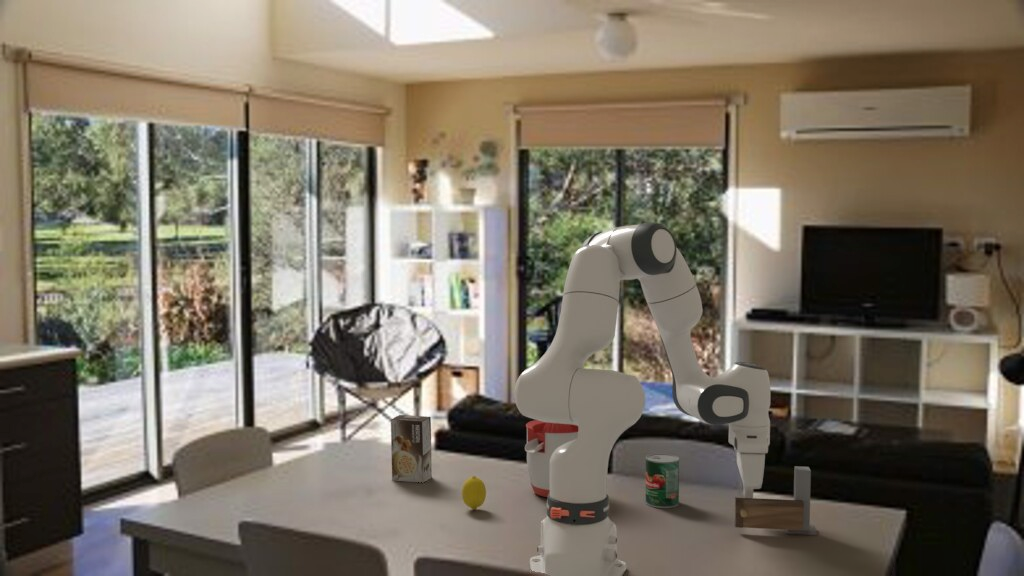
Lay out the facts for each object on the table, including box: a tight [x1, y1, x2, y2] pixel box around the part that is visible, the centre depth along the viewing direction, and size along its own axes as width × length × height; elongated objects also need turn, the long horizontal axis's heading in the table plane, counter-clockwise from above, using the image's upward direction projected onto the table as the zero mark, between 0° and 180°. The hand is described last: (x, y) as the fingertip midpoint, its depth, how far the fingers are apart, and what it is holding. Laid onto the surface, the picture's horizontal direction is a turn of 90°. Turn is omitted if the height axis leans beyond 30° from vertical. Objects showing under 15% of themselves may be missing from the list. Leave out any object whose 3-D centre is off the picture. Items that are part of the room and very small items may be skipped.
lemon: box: [461, 475, 487, 511], centre depth 223 cm, size 6×6×8 cm
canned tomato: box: [645, 453, 680, 509], centre depth 228 cm, size 8×8×11 cm
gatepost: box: [785, 465, 818, 536], centre depth 208 cm, size 4×6×14 cm, turn 81°
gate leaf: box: [734, 496, 804, 531], centre depth 205 cm, size 3×14×6 cm, turn 81°
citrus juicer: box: [524, 419, 578, 498], centre depth 236 cm, size 16×17×20 cm
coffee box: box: [390, 414, 433, 484], centre depth 249 cm, size 9×6×16 cm
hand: (748, 496), depth 213 cm, fingers closed
